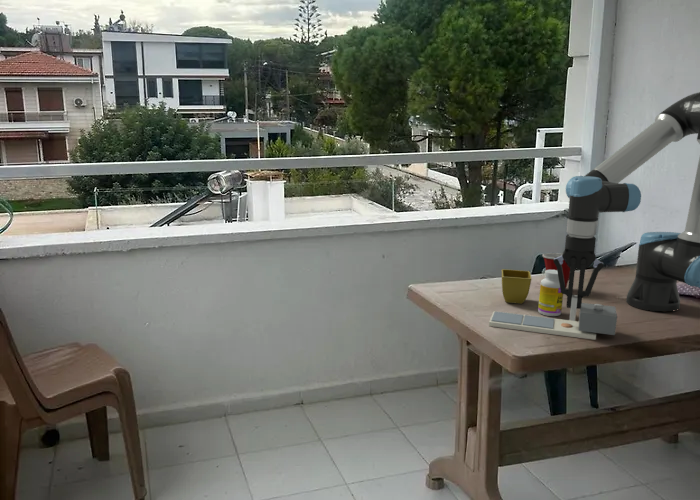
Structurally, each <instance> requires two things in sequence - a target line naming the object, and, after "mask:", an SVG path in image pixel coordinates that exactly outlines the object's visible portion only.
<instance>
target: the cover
mask: <svg viewBox="0 0 700 500" xmlns="http://www.w3.org/2000/svg"><path fill="white" fill-rule="evenodd" d="M616 309H617V308H616V306H612V305H606V304H605V305H604V304H601V303H586V302H582V303H581V308H580V309H579V314H578V321H579V331H586V332H594V333H596V334H602V335H611V336H615V335H616V329H617V321H618V314H617V310H616Z"/></svg>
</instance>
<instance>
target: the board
mask: <svg viewBox="0 0 700 500" xmlns="http://www.w3.org/2000/svg"><path fill="white" fill-rule="evenodd" d="M488 326H489V327H494V328H501V329H509V330H510V329H511V330H519V331H525V332H533V333H538V334H539V333H541V334H549V335H557V336H564V337H570V338H578V339H579V338H580V339H586V340H595V341H596V340H597V333H594V332H586V331H579V320H578V321H577V320H575V321H571V320H569V319H561V318H553V317H544V316H537V315H536V316H535V315H528V314H519V313H513V312H505V311H504V312H503V311H498V310H497V311H496V310H494V311H492V314H491V316H490V318H489V321H488Z"/></svg>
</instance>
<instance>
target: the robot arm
mask: <svg viewBox="0 0 700 500" xmlns="http://www.w3.org/2000/svg"><path fill="white" fill-rule="evenodd" d="M694 134H695V135H697V137H696V141H697V143H698V145H700V91H699V92H695V93H692V94H688V95H687V96H685V97H682V98H681V99H679V100H677V101H676V102H674V103H672V104H671V105H670V106H668V107H666V108H665V109H664V110H663V111H661V112H660V113H659V114H657V115H656V116H655V118H654V122H653V123H651V124H650V125H649V126H648V127H646V128H644V129H643V131H641V132H640V133H639V134H637V135H636V136H635V137H633V138H632V139H631V140H630V141H628V142H626V144H623V146H622V147H620V148H619V149H618V150H616V151H615V152H613V154H611V155H610V156H609V157H607V158H606V159H605V160H604V161H602V162H601V163H600V164H598V165H597V166H596V167H594V168H593V169H592V170H590V171H589V172H588V173H586V174H585V175H576V176H572V177H571V178H570V179H569V180H568V181H567V183H566V184H565V194H566V197H567V198H568V213H567V221H566V222H567V224H566V233H567V234H566V235H565V243H564V250H563V252H562V253H563V254H562V256H560V257H558V258H557V257H555V258H554V264H555V265H556V267H557V271H558V278H559V284H560V290H561V293H562V294H563V295H565V296H566V305H565V306H566V308H568V309H570V311H569V319H568V320H570V321H576V317H577V316H576V315H577V309H578V310H580V308H581V303H583V298H584V297H589V296H590V295H591V292H592V290H593V287H594V285H595V282H596V279H597V278H598V277H597V276H598V274H599V272H600V271H601V270H602V269H603V268H604V262H603V261H600V260H599V259H597V257H596V253H595V252H596V251H595V250H596V241H597V238H596V237H595V236H596V235H597V231H598V224H599V216H600V213H602V214H603V213H621V212H622V213H626V212H632V211H635V210H636V209H637V208H638V207H639V206H640V205H641V201H642V194H641V190H640V188H639V186H637V184H634V183H626V182H623V183H620V182H622V181H623V180H624V179H626V178H627V177H629V175H631V174H632V173H633V172H635V171H636V170H637V169H639V168H640V167H641V166H642V165H644V164H645V163H646V162H648V161H649V160H651V158H653V157H654V156H655V155H657V154H658V153H660V152H661V151H662V150H663V149H665V148H666V147H667V146H669V145H670V144H671V143H674V142H675V143H676V142H679V141H681V140H682V139H683V138H685V137H687V136H690V135H694ZM693 183H694V184H693V189H692V193H691V197H690V203H689V209H688V214H687V218H686V223H685V228H684V231H683V232H676V231H674V232H671V231H647V232H644V233H643V234H642V235H641V236H640V241H639V244H638V253H637V259H636V260H637V261H636V270H635V271H636V272H635V277H634V279H633V282H632V283H631V286H630V287H629V290H628V292H627V294H626V299H625V302H626V303H627V304H628V305H630V306H631V307H633V308H636V309H640V310H645V311H648V310H650V311H649V312H655V311H673V310H677V309H679V310H680V306H681V299H680V293H679V289H678V285H677V283H678V282H681V283H684V284H686V285H687V286H689V287H695V288H699V289H700V156H699V158H698V163H697V167H696V174H695V177H694V181H693ZM563 259H564V260H565V262H566V263H567V265H568V267H569V268H570V275H569V281H568V284H567V287H566V288H565V282H564V276H563V269H562V264H563ZM592 264H593V269H592V272H591V275H590V277H589V280H588V283H587V285H586V288H585V290H584V282H585V273H586V270H587V269H588V268H589V267H590V266H591V265H592ZM576 270H579V278H578V287H577V294H573V291H574V282H575V273H576ZM677 311H678V310H677ZM673 312H674V311H673Z"/></svg>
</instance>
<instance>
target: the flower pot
mask: <svg viewBox="0 0 700 500" xmlns="http://www.w3.org/2000/svg"><path fill="white" fill-rule="evenodd" d="M532 279H533V278H532V275H531V272H530V271H529V270H521V269H519V270H518V269H516V270H515V269H506V268H505V269H501V288H502V291H501V292H502V296H503V299H504V302H506V303H508V304H510V303H511V304H521V305H522V304H524V302H525V301H526V299H527V297H528V295H529V293H530V288H531V284H532Z"/></svg>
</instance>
